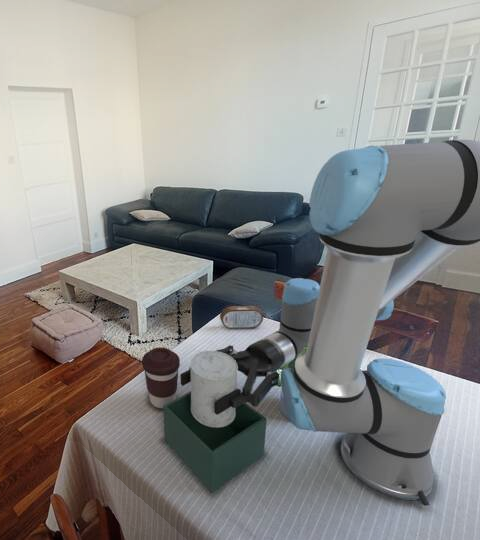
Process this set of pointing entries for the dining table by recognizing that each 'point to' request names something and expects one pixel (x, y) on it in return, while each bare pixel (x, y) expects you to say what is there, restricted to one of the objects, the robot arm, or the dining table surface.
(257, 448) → the bin
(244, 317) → the tin
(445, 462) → the dining table surface
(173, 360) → the coffee cup
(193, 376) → the white mottled cylinder
